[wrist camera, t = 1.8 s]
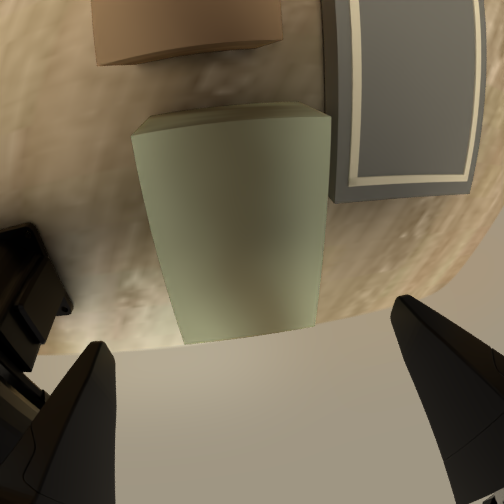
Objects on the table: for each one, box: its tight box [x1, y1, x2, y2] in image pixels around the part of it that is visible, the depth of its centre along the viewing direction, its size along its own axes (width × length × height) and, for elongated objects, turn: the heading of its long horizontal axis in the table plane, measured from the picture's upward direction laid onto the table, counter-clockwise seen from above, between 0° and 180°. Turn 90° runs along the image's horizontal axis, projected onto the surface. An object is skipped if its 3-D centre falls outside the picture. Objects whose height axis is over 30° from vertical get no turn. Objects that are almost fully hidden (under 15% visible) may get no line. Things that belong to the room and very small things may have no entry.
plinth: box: [321, 0, 486, 204], centre depth 11 cm, size 9×13×2 cm
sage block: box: [131, 102, 331, 345], centre depth 14 cm, size 6×10×4 cm, turn 3°
